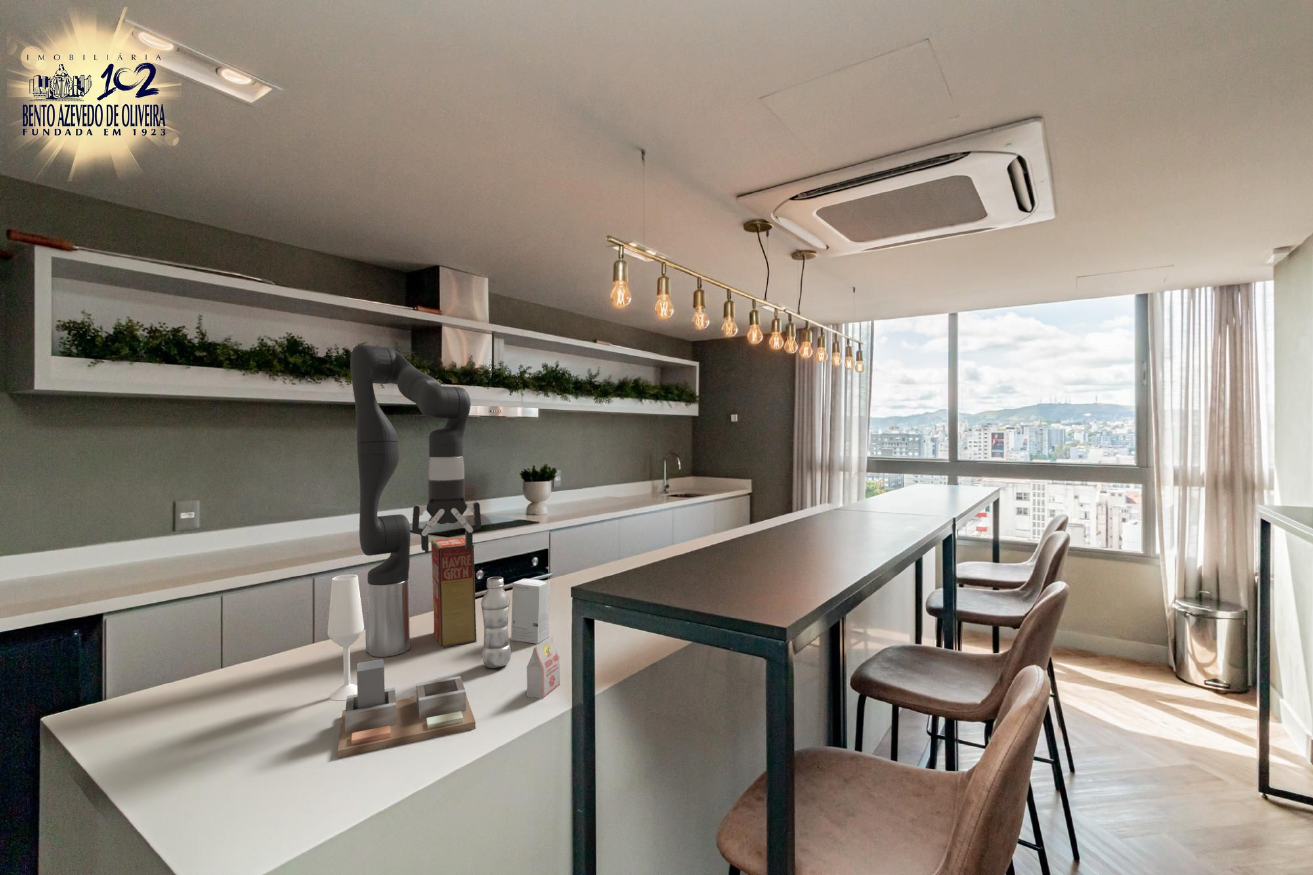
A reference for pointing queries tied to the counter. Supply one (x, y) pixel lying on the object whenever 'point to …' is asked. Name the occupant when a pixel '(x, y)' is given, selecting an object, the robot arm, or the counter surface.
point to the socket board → (406, 717)
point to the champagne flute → (345, 625)
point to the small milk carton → (543, 670)
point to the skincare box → (530, 611)
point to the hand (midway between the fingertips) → (447, 550)
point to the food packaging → (453, 592)
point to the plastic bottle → (495, 624)
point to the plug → (370, 683)
